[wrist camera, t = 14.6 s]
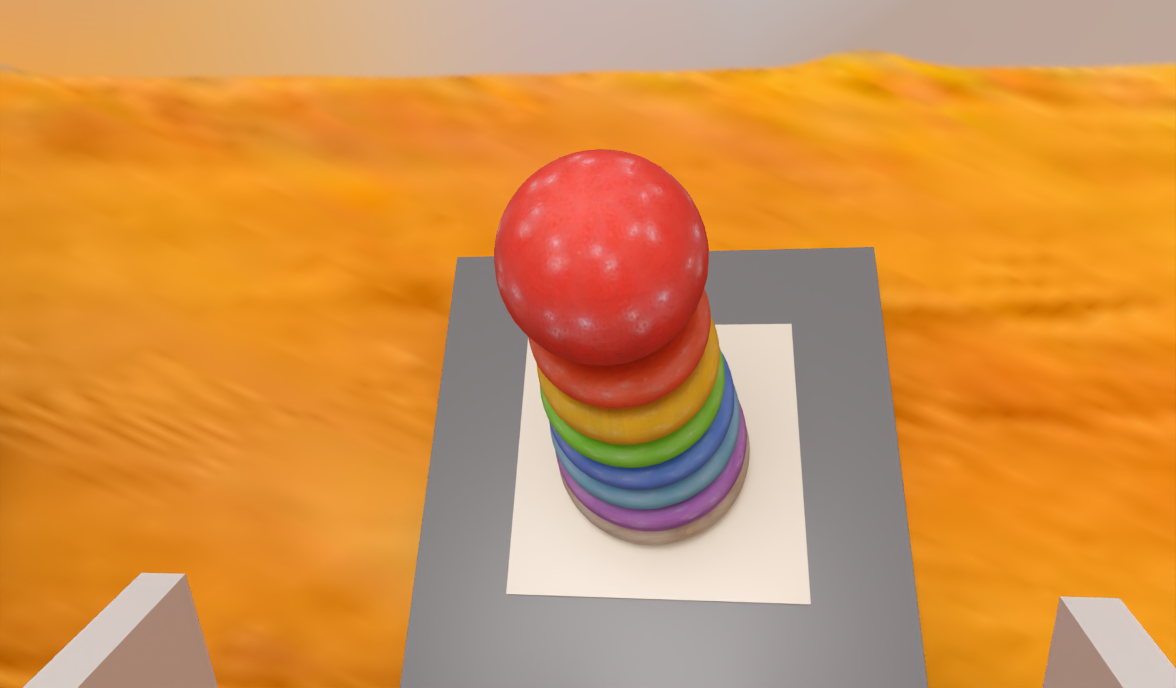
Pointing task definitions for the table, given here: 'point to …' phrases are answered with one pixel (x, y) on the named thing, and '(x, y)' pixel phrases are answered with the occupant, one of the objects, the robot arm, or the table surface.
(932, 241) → the table surface
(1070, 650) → the robot arm
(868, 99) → the table surface
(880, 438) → the plate
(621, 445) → the stacking toy
